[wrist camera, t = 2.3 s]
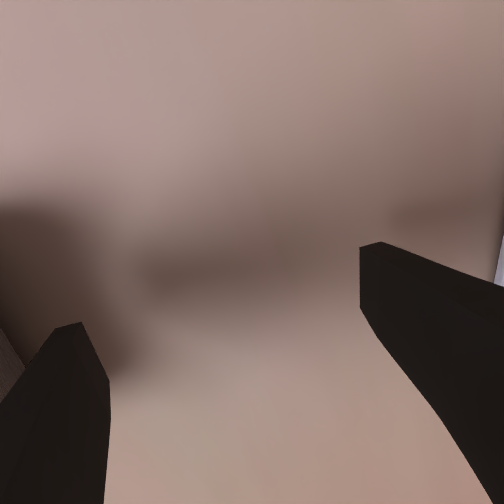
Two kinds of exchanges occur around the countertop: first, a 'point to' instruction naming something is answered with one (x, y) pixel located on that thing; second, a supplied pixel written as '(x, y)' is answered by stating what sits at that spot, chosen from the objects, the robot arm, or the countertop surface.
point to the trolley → (8, 366)
